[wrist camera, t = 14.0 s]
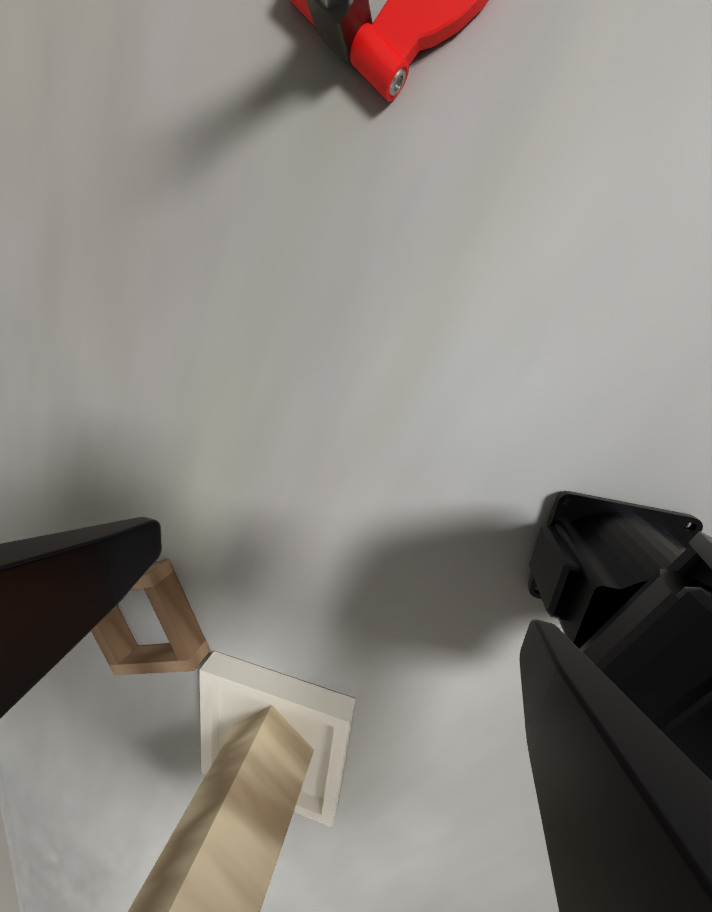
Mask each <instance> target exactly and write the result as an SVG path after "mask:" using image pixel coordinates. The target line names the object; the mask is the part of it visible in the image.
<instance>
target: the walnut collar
mask: <svg viewBox="0 0 712 912" xmlns="http://www.w3.org/2000/svg"><path fill="white" fill-rule="evenodd" d="M141 588H144V590H145V592H146V594H147V596H148V598H149V600H150V602H151V604H152V607H153V609H154V611H155V613H156V615H157V617H158V619H159V621H160V623H161V625H162V627H163V629H164V632H165V634H166V636H167V638H168V640H169V642H170V643H167V644H155V645H144V646H137V644H136V642H135V640H134V638H133V636H132V634H131V632H130V630H129V628H128V626H127V624H126V622H125V620H124V618H123V616H122V614H121V612H120V610H119V608H118V606H117V605H116V606H115V608H114V609H113V610H112V611H111V612H110V613H109V614H108V615H107V616H106V617H105V618H104V619H102V620H101V621H100V622H99V623H98V624H97V625H96V626H95V627H94V628H93V629H92V630H91V632H92V634H93V635H94V637H95V639H96V641H97V643H98V645H99V647H100V649H101V651H102V652H103V654H104V656H105V658H106V660H107V662H108V664H109V666H110V668H111V669H112V671H113V673H114V675H125V674H145V673H164V672H184V671H194V670H195V669H196V668H197V666H198V665H199V664H200V663H201V661H202V660H203V659H204V658H205V656H206V655H207V654H208V653H209V651H210V649H209V647H208V644H207V642H206V640H205V638H204V636H203V634H202V631H201V629H200V627H199V625H198V623H197V620H196V618H195V616H194V614H193V612H192V609H191V607H190V605H189V603H188V601H187V598H186V596H185V594H184V592H183V590H182V587H181V585H180V583H179V581H178V579H177V577H176V574H175V572H174V570H173V568H172V566H171V563H170V561H169V559H168V560H162V561H157V562H154V563H153V564H152V566H151V567H150V568H149V569H148V570H147V571H146V572H145V574H144V575H143V576H142V577H141V578H140V579H139V580H138V582H137V583H136V584H135V585H134V586H133V587H132V588H131V590H134V589H141Z"/></svg>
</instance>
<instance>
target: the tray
mask: <svg viewBox="0 0 712 912" xmlns="http://www.w3.org/2000/svg"><path fill="white" fill-rule="evenodd" d="M271 705H273V706H274V708H275V709H276V710H277V711H278V712H279V713H280V714H281V715H282V716H283V717H284V718H285V719H286V720H287V721H288V723H289V724H290V725H291V726H292V727H293V728H294V729H295V730H296V731H297V732H298V733H299V734H300V735H301V736H302V738H303V739H304V740H305V741H306V742H307V743H308V744H309V745H310V746H311V747H312V748H313V749H314V752H313V755H312V758H311V761H310V764H309V767H308V770H307V773H306V776H305V779H304V782H303V785H302V788H301V791H300V794H299V797H298V800H297V803H296V806H295V809H294V812H295V813H297V814H300V815H302V816H305V817H307V818H310V819H312V820H314V821H317V822H319V823H322V824H324V825H326V826H329V827H331V828H332V825H333V821H334V817H335V813H336V809H337V805H338V800H339V794H340V788H341V783H342V777H343V771H344V765H345V759H346V753H347V747H348V741H349V735H350V729H351V723H352V717H353V711H354V705H355V698H352V697H349V696H346V695H343V694H340V693H337V692H334V691H331V690H328V689H325V688H322V687H319V686H316V685H313V684H310V683H307V682H304V681H301V680H298V679H295V678H292V677H289V676H286V675H283V674H280V673H277V672H274V671H271V670H268V669H265V668H262V667H260V666H257V665H254V664H251V663H248V662H245V661H242V660H239V659H236V658H233V657H230V656H227V655H224V654H221V653H218V652H215V651H214V652H213V653H212V654H211V656H210V657H209V658H208V660H207V661H206V662H205V663H204V665H203V666H202V667H201V669H200V721H201V774H204V775H206V774H207V773H208V771H209V769H210V767H211V766H212V764H213V762H214V760H215V759H216V757H217V755H218V753H219V752H220V750H221V748H222V746H223V745H224V743H225V741H226V739H227V738H228V736H229V734H230V732H231V731H232V729H233V727H234V725H236V724H238V723H240V722H242V721H244V720H245V719H247V718H249V717H251V716H253V715H254V714H256V713H258V712H260V711H262V710H264V709H265V708H267V707H269V706H271Z"/></svg>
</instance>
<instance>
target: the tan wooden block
mask: <svg viewBox="0 0 712 912" xmlns="http://www.w3.org/2000/svg"><path fill="white" fill-rule="evenodd" d="M313 752H314V749H313V748H312V747H311V746H310V745H309V744H308V743H307V742H306V741H305V740H304V739H303V738H302V736H301V735H300V734H299V733H298V732H297V731H296V730H295V729H294V728H293V727H292V726H291V725H290V724H289V723H288V721H287V720H286V719H285V718H284V717H283V716H282V715H281V714H280V713H279V712H278V711H277V710H276V709H275V708H274V706H273V705H271V706H269V707H267V708H265V709H264V710H262V711H260V712H258V713H256V714H254V715H253V716H251V717H249V718H247V719H245V720H244V721H242V722H240V723H238V724H236V725H234V727H233V729H232V731H231V732H230V734H229V736H228V738H227V739H226V741H225V743H224V745H223V746H222V748H221V750H220V752H219V753H218V755H217V757H216V759H215V760H214V762H213V764H212V766H211V767H210V769H209V771H208V773H207V774H206V776H205V778H204V780H203V781H202V783H201V785H200V787H199V788H198V790H197V792H196V794H195V795H194V797H193V799H192V801H191V802H190V804H189V806H188V808H187V809H186V811H185V813H184V815H183V816H182V818H181V820H180V822H179V823H178V825H177V827H176V829H175V830H174V832H173V834H172V836H171V837H170V839H169V841H168V843H167V844H166V846H165V848H164V850H163V851H162V853H161V855H160V857H159V858H158V860H157V862H156V864H155V865H154V867H153V869H152V871H151V872H150V874H149V876H148V878H147V879H146V881H145V883H144V885H143V886H142V888H141V890H140V892H139V893H138V895H137V897H136V898H135V900H134V902H133V904H132V905H131V907H130V909H129V911H128V912H260V910H261V907H262V904H263V901H264V898H265V895H266V892H267V889H268V886H269V883H270V880H271V877H272V874H273V871H274V868H275V865H276V863H277V860H278V857H279V854H280V851H281V848H282V845H283V842H284V839H285V836H286V833H287V830H288V827H289V824H290V821H291V818H292V815H293V812H294V809H295V806H296V803H297V800H298V797H299V794H300V791H301V788H302V785H303V782H304V779H305V776H306V773H307V770H308V767H309V764H310V761H311V758H312V755H313Z"/></svg>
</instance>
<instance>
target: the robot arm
mask: <svg viewBox="0 0 712 912" xmlns="http://www.w3.org/2000/svg"><path fill="white" fill-rule="evenodd" d="M567 498H571V499H572V501H571V503H569V504H563V502H564V500H565V499H567ZM689 522H691V526H690V527H688V528H684V526H685V525H686V524H687V523H689ZM702 528H703V525H702V522H701V521H700V520H699V519H697V518H696V517H694V516H692V515H689V514H684V513H679V512H674V511H668V510H663V509H658V508H653V507H648V506H643V505H638V504H632V503H627V502H622V501H617V500H612V499H607V498H601V497H596V496H591V495H586V494H581V493H576V492H570V491H564V492H561V493H560V494H559V495H558V496H557V498H556V500H555V503H554V506H553V509H552V512H551V515H550V519H549V522H548V525H544V526H543V527H541V529H540V532H539V535H538V538H537V542H536V545H535V548H534V551H533V554H532V557H531V560H530V563H529V566H530V569H531V572H532V573H531V576H530V579H529V582H528V589H529V592H530V594H531V595H532V596H534V597H536V598H540V599H542V601H543V603H544V606H545V608H546V611H547V612H548V614H549V615H550V616H551V617H553V618H557V619H559V622H560V624H561V626H562V629H563V631H564V633H563V632H562V631H561V630H560V629H559V628H558V627H557V626H555V625H554V624H552V623H548V622H544V621H540V620H536V619H534V620H532V621H531V622H530V624H529V627H528V630H527V633H526V635H525V638H524V641H523V644H522V647H521V651H520V671H521V683H522V694H523V706H524V717H525V728H526V738H527V745H528V751H529V757H530V762H531V767H532V773H533V778H534V783H535V788H536V793H537V799H538V804H539V809H540V814H541V819H542V825H543V830H544V835H545V840H546V845H547V851H548V856H549V861H550V866H551V871H552V876H553V882H554V887H555V892H556V897H557V902H558V908H559V912H712V537H710V536H708V535H706V534H704V533H702V532H701V531H702ZM161 550H162V544H161V526H160V523H159V522H158V521H157V520H154V519H150V518H147V517H139V518H134V519H128V520H123V521H118V522H113V523H107V524H102V525H97V526H92V527H86V528H81V529H76V530H71V531H65V532H60V533H55V534H50V535H44V536H39V537H34V538H29V539H23V540H18V541H13V542H8V543H2V544H0V718H1V717H3V716H4V715H5V714H6V713H7V712H8V711H9V710H10V709H11V708H12V707H13V706H14V705H15V704H16V703H17V702H18V701H19V700H20V699H21V698H22V697H23V696H24V695H25V694H26V693H27V692H28V691H29V690H30V689H31V688H32V687H33V686H34V685H36V684H37V683H38V682H39V681H40V680H41V679H42V678H43V677H44V676H45V675H46V674H47V673H48V672H49V671H50V670H51V669H52V668H53V667H54V666H55V665H56V664H57V663H58V662H59V661H60V660H61V659H62V658H63V657H64V656H65V655H66V654H67V653H68V652H70V651H71V650H72V649H73V648H74V647H75V646H76V645H77V644H78V643H79V642H80V641H81V640H82V639H83V638H84V637H85V636H86V635H87V634H88V633H89V632H90V631H91V630H92V629H93V628H94V627H95V626H96V625H97V624H98V623H99V622H100V621H101V620H102V619H104V618H105V617H106V616H107V615H108V614H109V613H110V612H111V611H112V610H113V609H114V608H115V606H116V605H117V604H118V603H119V602H120V601H121V600H122V599H123V598H124V596H125V595H126V594H127V593H128V592H129V591H130V590H131V588H132V587H133V586H134V585H135V584H136V583H137V582H138V580H139V579H140V578H141V577H142V576H143V575H144V574H145V572H146V571H147V570H148V569H149V568H150V567H151V566H152V564H153V563H154V562H155V561H156V560H157V559H158V557H159V555H160V553H161ZM535 587H538V590H535V589H534V588H535Z"/></svg>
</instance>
